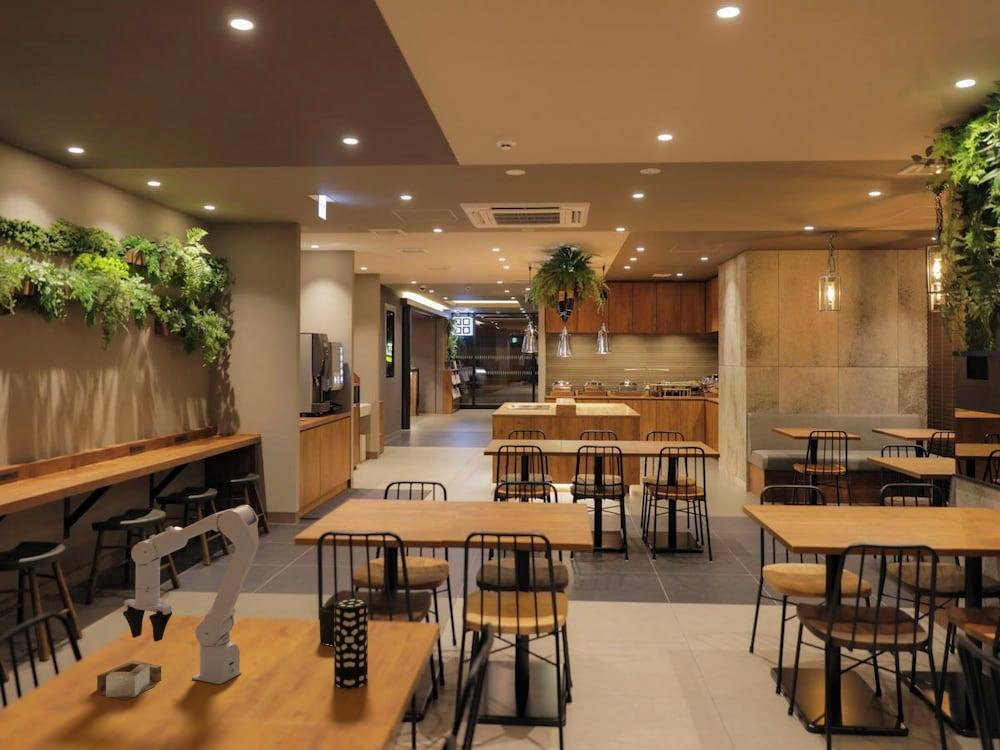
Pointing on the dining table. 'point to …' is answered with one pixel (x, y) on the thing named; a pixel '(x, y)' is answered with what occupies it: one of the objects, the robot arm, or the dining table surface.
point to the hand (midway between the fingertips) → (147, 638)
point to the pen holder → (327, 624)
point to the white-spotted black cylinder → (350, 643)
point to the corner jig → (128, 667)
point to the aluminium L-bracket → (127, 682)
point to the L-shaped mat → (130, 697)
